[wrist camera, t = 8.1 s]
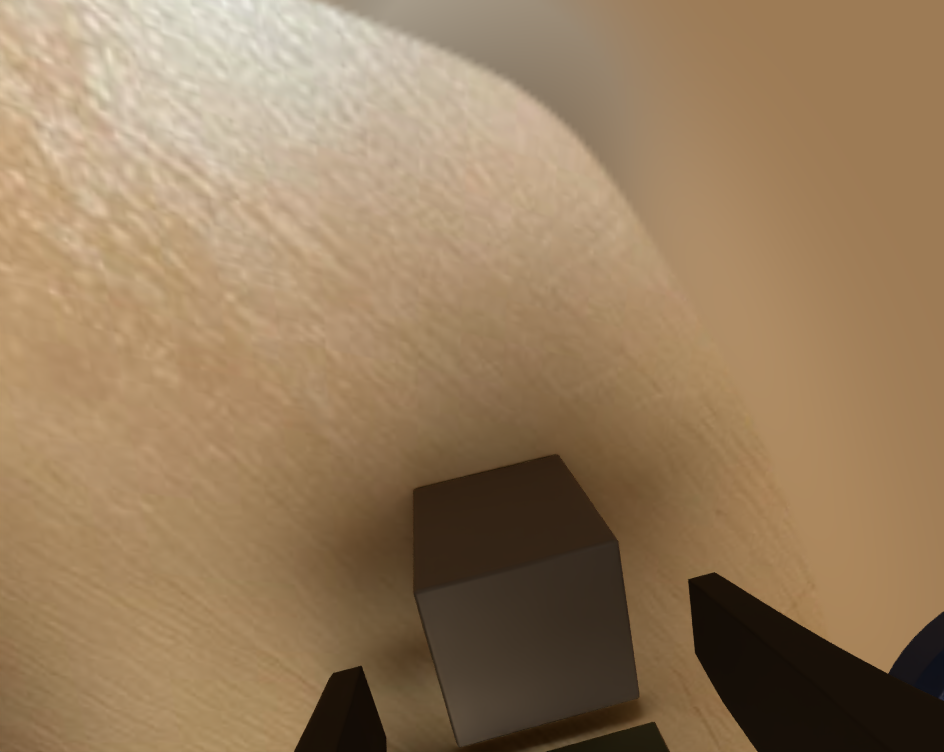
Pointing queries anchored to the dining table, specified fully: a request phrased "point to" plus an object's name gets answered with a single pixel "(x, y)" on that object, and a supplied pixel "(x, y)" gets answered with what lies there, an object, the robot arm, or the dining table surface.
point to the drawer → (623, 741)
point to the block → (520, 599)
